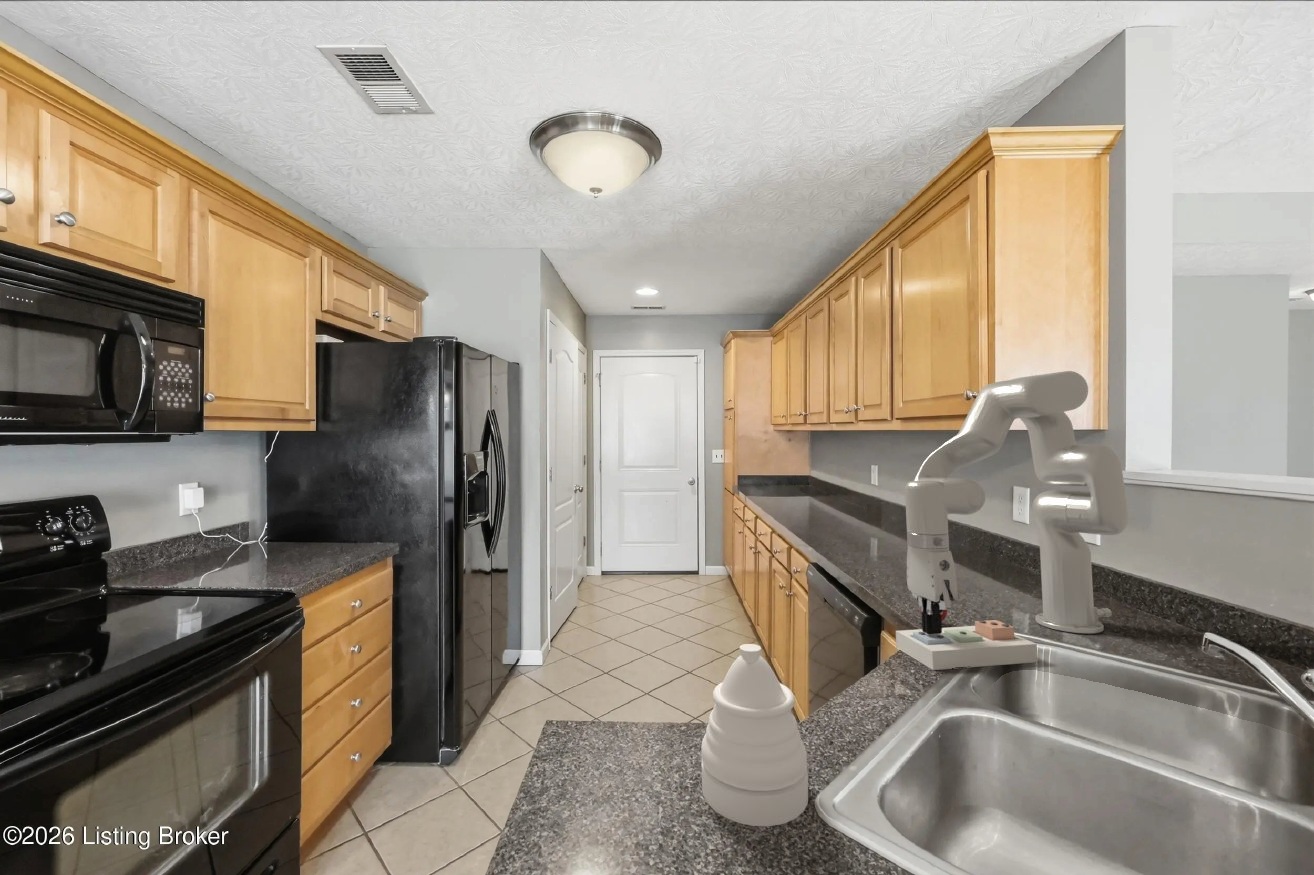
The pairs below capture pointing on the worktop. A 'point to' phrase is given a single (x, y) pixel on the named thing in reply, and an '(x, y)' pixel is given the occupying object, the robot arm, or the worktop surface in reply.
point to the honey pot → (754, 747)
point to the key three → (994, 630)
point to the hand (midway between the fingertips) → (932, 632)
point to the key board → (967, 651)
